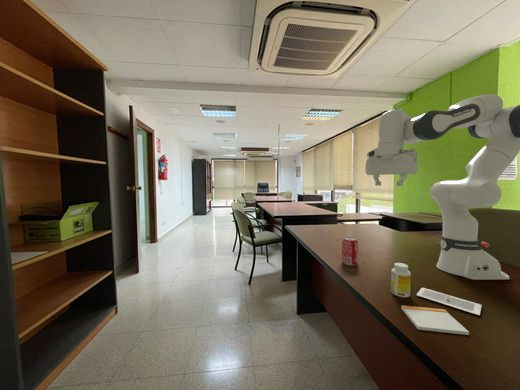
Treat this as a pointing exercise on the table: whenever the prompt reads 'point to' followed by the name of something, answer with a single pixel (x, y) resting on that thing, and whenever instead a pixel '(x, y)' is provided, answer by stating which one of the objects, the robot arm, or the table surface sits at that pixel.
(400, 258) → the table surface
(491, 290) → the table surface
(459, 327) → the notepad
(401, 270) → the supplement bottle
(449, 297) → the touchpad
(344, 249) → the soda can
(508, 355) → the table surface
